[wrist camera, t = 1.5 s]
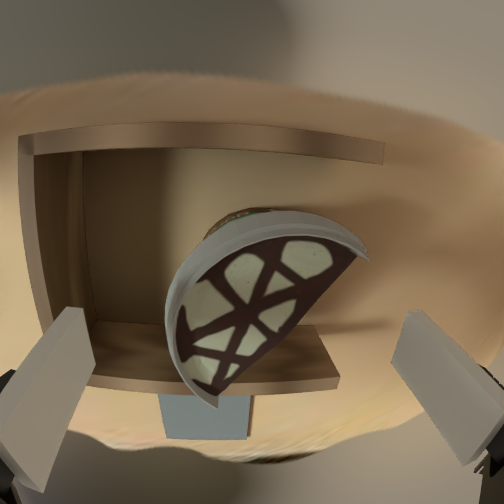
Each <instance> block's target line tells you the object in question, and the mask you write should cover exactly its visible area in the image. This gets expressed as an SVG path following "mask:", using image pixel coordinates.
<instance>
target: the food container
mask: <svg viewBox="0 0 504 504" xmlns="http://www.w3.org/2000/svg"><path fill="white" fill-rule="evenodd" d="M367 252H368V251H367V249H366V248H365V246H364V244H363V243H362V241H361V240H360V239H359V238H358V237H357V236H356V235H355V234H353V233H352V232H351V231H350V230H348V229H347V228H345V227H344V226H342V225H340V224H338V223H337V222H335V221H333V220H331V219H328V218H325V217H322V216H319V215H316V214H312V213H306V212H300V211H276V210H273V209H270V208H247V209H244V210H241V211H237V212H234V213H231V214H229V215H227V216H226V217H224V218H223V219H221V220H220V221H218V222H217V223H216V224H215V225H214V226H213V227H212V228H211V229H210V230H209V231H208V232H207V234H206V235H205V237H204V238H203V241H202V242H201V243H199V245H198V246H197V247H196V248H195V249H194V250H193V251H192V252H191V253H190V254H189V255H188V256H187V257H186V259H185V260H184V262H183V263H182V265H181V266H180V268H179V269H178V271H177V272H176V274H175V276H174V279H173V281H172V283H171V285H170V288H169V291H168V295H167V300H166V304H165V327H166V334H167V341H168V347H169V352H170V355H171V357H172V360H173V363H174V365H175V367H176V369H177V370H178V373H179V374H180V376H181V377H182V379H183V381H184V382H185V384H186V385H187V386H188V387H189V388H190V390H191V391H192V392H193V393H194V394H195V395H196V396H197V397H199V398H200V399H201V400H202V401H204V402H205V403H206V404H208V405H210V406H212V407H213V408H215V409H218V399H219V394H220V393H221V392H223V391H224V390H226V388H227V387H228V386H229V385H230V384H231V383H232V382H233V381H234V380H235V379H236V378H237V377H238V376H239V375H240V374H242V373H243V372H244V371H245V370H246V369H247V368H248V367H250V366H251V365H252V364H253V363H254V362H256V361H257V360H258V359H260V358H261V357H262V356H264V355H265V354H266V353H267V352H269V351H270V350H271V349H272V348H274V347H275V346H276V345H277V344H278V343H280V342H281V341H282V340H283V339H284V338H285V337H286V336H287V335H288V334H289V332H290V331H291V330H292V329H293V328H294V327H295V326H296V325H297V323H298V322H299V321H300V320H301V318H302V317H303V316H304V315H305V314H306V312H307V311H308V310H309V309H310V308H311V306H312V305H313V304H314V303H315V302H316V301H317V299H318V298H319V297H320V296H321V295H322V294H323V293H324V292H325V291H326V290H327V289H328V288H329V287H330V285H331V284H332V283H333V282H334V281H335V280H336V279H337V278H338V277H339V276H340V275H341V273H342V272H343V271H344V270H345V269H346V268H347V267H348V266H349V265H350V264H351V263H352V261H353V260H354V259H355V258H356V257H357V255H358V256H360V257H362V258H364V259H366V260H368V261H370V259H369V258H368V257H367V256H366V255H365V254H366V253H367Z"/></svg>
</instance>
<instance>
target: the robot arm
mask: <svg viewBox="0 0 504 504" xmlns="http://www.w3.org/2000/svg"><path fill="white" fill-rule="evenodd" d="M391 363H392V365H393V366H394V368H395V369H396V370H397V372H398V373H399V374H400V376H401V377H402V379H403V380H404V381H405V383H406V384H407V386H408V387H409V388H410V390H411V391H412V393H413V394H414V395H415V397H416V398H417V400H418V401H419V402H420V404H421V405H422V407H423V408H424V410H425V411H426V412H427V414H428V415H429V417H430V418H431V420H432V421H433V423H434V424H435V425H436V427H437V428H438V430H439V431H440V433H441V434H442V436H443V437H444V438H445V440H446V442H447V443H448V445H449V446H450V448H451V449H452V451H453V452H454V454H455V455H456V457H457V458H458V460H459V461H460V463H461V465H462V466H465V465H467V464H469V463H471V462H472V461H474V460H476V459H477V458H478V457H479V456H480V455H481V454H482V452H483V451H484V450H485V449H487V451H488V452H489V453H488V454H487V455H486V457H485V458H484V459H483V460H482V461H481V462H480V464H479V465H478V466H477V467H476V468H475V470H474V473H476V472H477V471H478V470H479V469H480V468H481V467H482V466H484V468H483V469H482V470H481V471H480V473H479V474H483V479H482V486H481V494H480V500H479V504H504V387H503V386H502V385H501V384H499V381H498V380H496V379H495V378H493V375H492V374H491V373H490V372H489V371H488V370H487V369H486V368H484V367H482V366H481V365H479V364H478V363H476V362H475V361H474V360H473V359H472V358H471V357H470V356H469V355H468V354H467V353H466V352H465V351H464V350H463V349H462V348H461V347H460V346H459V345H458V344H457V343H456V342H455V341H454V340H453V339H452V338H451V337H449V336H448V335H447V334H446V333H445V332H444V331H443V330H442V329H441V328H440V327H439V326H438V325H437V324H436V323H434V322H433V321H432V320H431V319H430V318H429V317H428V316H427V315H426V314H425V313H423V312H422V311H421V310H417V311H408V312H407V315H406V319H405V322H404V325H403V328H402V331H401V334H400V337H399V340H398V343H397V346H396V349H395V352H394V355H393V358H392V360H391ZM95 365H96V363H95V359H94V356H93V352H92V348H91V343H90V339H89V335H88V330H87V326H86V321H85V316H84V311H83V308H76V307H67V306H66V308H65V309H64V310H63V311H62V312H61V314H60V315H59V316H58V317H57V318H56V320H55V321H54V322H53V323H52V325H51V326H50V327H49V328H48V330H47V331H46V332H45V333H44V335H43V336H42V337H41V338H40V340H39V341H38V342H37V344H36V345H35V346H34V347H33V349H32V350H31V351H30V353H29V354H28V355H27V357H26V358H25V359H24V361H23V362H22V364H21V365H20V366H19V368H18V369H17V370H16V371H15V370H12V369H11V370H9V371H8V372H6V373H5V374H4V375H2V376H1V377H0V504H22V503H21V501H20V498H19V495H18V493H17V490H16V488H15V486H14V484H13V483H12V481H13V478H14V476H15V477H16V478H18V480H19V481H20V482H21V483H22V484H23V485H24V486H26V487H29V488H32V489H34V490H37V491H39V492H42V493H43V492H44V489H45V486H46V483H47V480H48V477H49V474H50V471H51V468H52V466H53V463H54V461H55V458H56V455H57V453H58V450H59V448H60V445H61V442H62V440H63V437H64V435H65V432H66V430H67V428H68V425H69V423H70V420H71V418H72V416H73V413H74V411H75V409H76V406H77V404H78V402H79V400H80V397H81V395H82V393H83V391H84V389H85V386H86V384H87V382H88V380H89V378H90V376H91V374H92V372H93V369H94V367H95Z"/></svg>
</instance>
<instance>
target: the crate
mask: <svg viewBox="0 0 504 504" xmlns="http://www.w3.org/2000/svg"><path fill="white" fill-rule="evenodd" d="M141 148H201V149H229V150H248V151H263V152H276V153H287V154H298V155H307V156H316V157H325V158H333V159H341V160H350V161H358V162H366V163H374V164H381V165H383V155H384V143H381V142H376V141H371V140H366V139H360V138H355V137H349V136H343V135H336V134H330V133H323V132H316V131H308V130H300V129H291V128H282V127H271V126H260V125H246V124H228V123H200V122H158V123H130V124H113V125H100V126H88V127H79V128H70V129H61V130H54V131H47V132H40V133H34V134H28V135H22V136H19V137H18V185H19V203H20V215H21V225H22V234H23V242H24V249H25V255H26V262H27V267H28V273H29V278H30V283H31V288H32V292H33V297H34V301H35V305H36V309H37V313H38V317H39V321H40V325H41V328H42V332H43V335H44V333H45V332H46V331H47V330H48V328H49V327H50V326H51V325H52V323H53V322H54V321H55V320H56V318H57V317H58V316H59V315H60V314H61V312H62V311H63V310H64V309H65V308H66V306H67V307H76V308H83V311H84V316H85V321H86V326H87V330H88V335H89V339H90V343H91V348H92V352H93V356H94V359H95V363H96V365H95V367H94V369H93V372H92V374H91V376H90V378H89V380H88V382H87V384H86V386H92V387H99V388H107V389H114V390H123V391H132V392H143V393H155V394H170V395H193V396H196V395H195V394H194V393H193V392H192V391H191V390H190V388H189V387H188V386H187V385H186V384H185V382H184V381H183V379H182V377H181V376H180V374H179V373H178V370H177V369H176V367H175V365H174V363H173V360H172V357H171V355H170V352H169V347H168V341H167V334H166V327H165V325H158V324H140V323H125V322H112V321H100V320H97V318H96V312H95V306H94V301H93V294H92V288H91V281H90V273H89V265H88V257H87V247H86V236H85V223H84V205H83V151H96V150H114V149H141ZM339 380H340V375H339V373H338V371H337V369H336V367H335V365H334V363H333V362H332V360H331V358H330V356H329V354H328V352H327V350H326V348H325V346H324V345H323V343H322V341H321V339H320V337H319V335H318V333H317V331H316V330H315V328H314V326H313V325H304V326H295V327H294V328H293V329H292V330H291V331H290V332H289V334H288V335H287V336H286V337H285V338H284V339H283V340H282V341H281V342H280V343H278V344H277V345H276V346H275V347H274V348H272V349H271V350H270V351H269V352H267V353H266V354H265V355H264V356H262V357H261V358H260V359H258V360H257V361H256V362H254V363H253V364H252V365H251V366H250V367H248V368H247V369H246V370H245V371H244V372H243V373H242V374H240V375H239V376H238V377H237V378H236V379H235V380H234V381H233V382H232V383H231V384H230V385H229V386H228V387H227V388H226V390H224V391H223V392H221V393H220V394H219V396H251V395H274V394H289V393H302V392H313V391H322V390H331V389H337V386H338V383H339Z"/></svg>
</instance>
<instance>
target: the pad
mask: <svg viewBox="0 0 504 504" xmlns="http://www.w3.org/2000/svg"><path fill="white" fill-rule="evenodd" d="M158 397H159V403H160V408H161V413H162V418H163V423H164V428H165V433H166V437H167V438H170V439H189V440H246V439H247V430H248V420H249V410H250V399H251V396H219V399H218V409H215V408H213V407H212V406H210V405H208V404H206V403H205V402H204V401H202V400H201V399H200V398H199V397H197V396H193V395H170V394H158Z"/></svg>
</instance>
